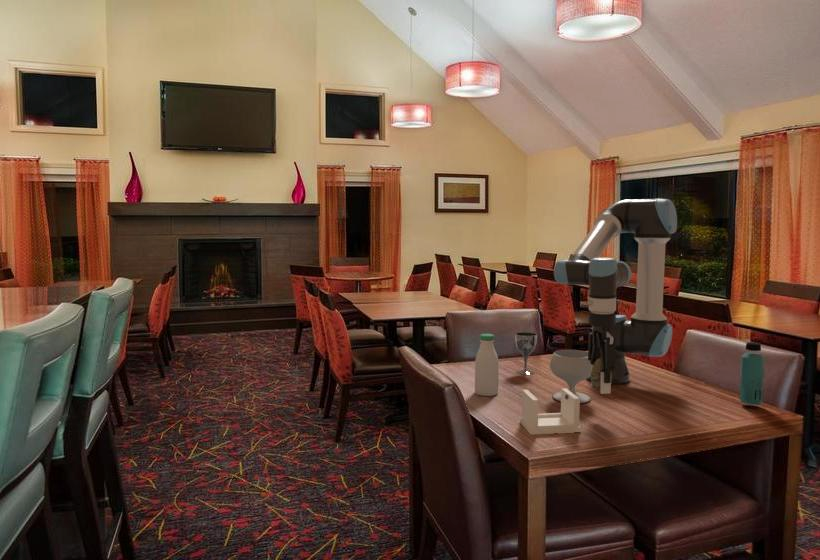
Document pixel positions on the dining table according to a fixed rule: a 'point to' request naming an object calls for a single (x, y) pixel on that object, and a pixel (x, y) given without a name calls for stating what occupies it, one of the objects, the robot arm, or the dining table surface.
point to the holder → (551, 415)
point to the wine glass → (525, 348)
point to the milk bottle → (486, 367)
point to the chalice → (571, 370)
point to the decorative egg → (597, 374)
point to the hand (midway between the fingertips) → (600, 389)
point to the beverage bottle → (752, 375)
